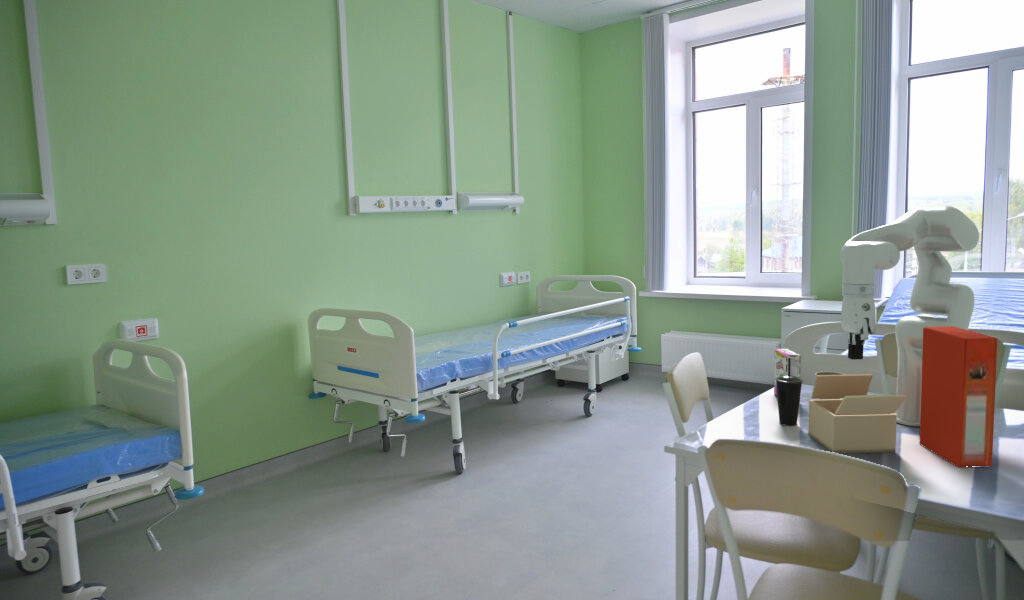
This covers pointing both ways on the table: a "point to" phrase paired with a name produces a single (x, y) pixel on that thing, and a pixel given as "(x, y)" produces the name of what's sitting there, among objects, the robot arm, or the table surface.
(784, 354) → the candy bar box
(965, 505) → the table surface
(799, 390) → the drinking cup
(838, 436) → the carton
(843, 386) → the flap
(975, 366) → the file binder
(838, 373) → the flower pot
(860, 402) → the flap
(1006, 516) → the table surface
